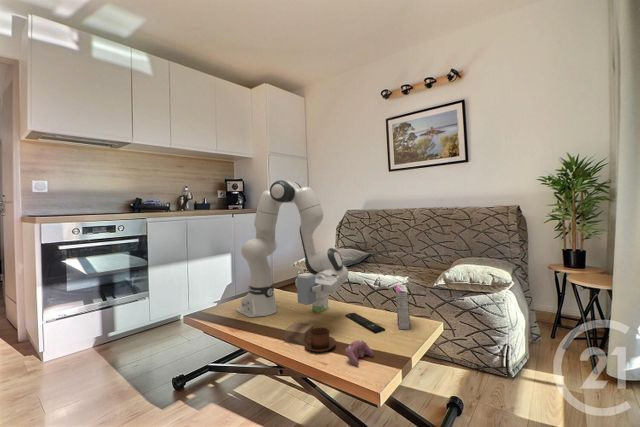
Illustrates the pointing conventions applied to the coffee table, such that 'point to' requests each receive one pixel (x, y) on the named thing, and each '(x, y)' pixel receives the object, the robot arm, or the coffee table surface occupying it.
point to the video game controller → (361, 348)
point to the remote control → (365, 322)
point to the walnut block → (298, 333)
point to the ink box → (320, 301)
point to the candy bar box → (402, 307)
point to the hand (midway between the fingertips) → (305, 288)
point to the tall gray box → (306, 288)
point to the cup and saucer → (319, 340)
